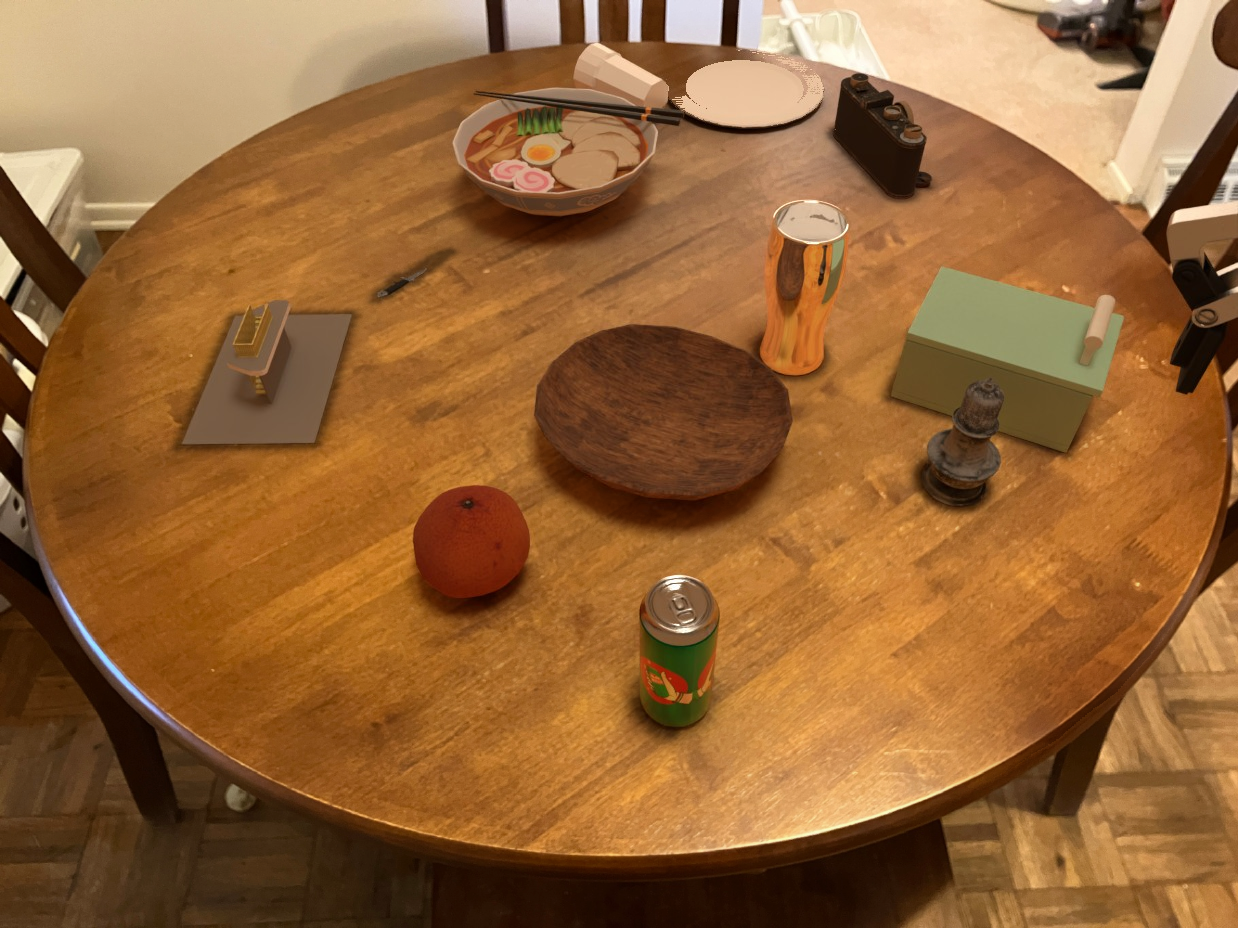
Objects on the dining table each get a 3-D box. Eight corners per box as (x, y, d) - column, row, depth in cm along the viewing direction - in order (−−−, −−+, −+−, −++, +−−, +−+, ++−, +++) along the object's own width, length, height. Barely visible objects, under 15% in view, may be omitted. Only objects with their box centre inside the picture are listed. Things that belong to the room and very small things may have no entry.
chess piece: (960, 520, 79) (1000, 417, 70) (903, 479, 82) (934, 375, 73) (1004, 485, 81) (1048, 380, 72) (947, 446, 84) (982, 341, 76)
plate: (850, 86, 129) (853, 74, 128) (773, 155, 118) (774, 142, 117) (717, 47, 137) (718, 35, 136) (633, 107, 126) (633, 95, 125)
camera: (941, 191, 111) (958, 126, 105) (889, 202, 110) (903, 137, 104) (873, 123, 122) (884, 60, 116) (825, 132, 121) (834, 69, 115)
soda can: (693, 657, 71) (700, 559, 62) (722, 716, 68) (734, 622, 59) (629, 680, 70) (626, 584, 61) (656, 741, 67) (658, 648, 58)
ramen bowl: (418, 231, 108) (405, 165, 102) (499, 131, 122) (491, 68, 116) (632, 271, 102) (631, 204, 96) (690, 161, 117) (692, 96, 111)
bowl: (727, 569, 76) (732, 530, 72) (495, 471, 84) (489, 431, 80) (819, 414, 88) (827, 373, 84) (608, 339, 95) (606, 299, 91)
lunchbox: (1088, 378, 90) (1115, 321, 85) (1066, 453, 84) (1093, 396, 79) (923, 329, 95) (939, 273, 90) (890, 396, 89) (905, 340, 84)
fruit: (504, 509, 81) (493, 443, 75) (550, 586, 75) (542, 521, 69) (403, 550, 78) (384, 485, 72) (444, 633, 73) (426, 570, 67)
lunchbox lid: (1121, 322, 85) (1138, 286, 82) (1099, 398, 78) (1117, 361, 75) (939, 272, 90) (949, 236, 87) (905, 339, 84) (915, 303, 81)
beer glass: (795, 390, 90) (816, 255, 78) (739, 353, 93) (753, 220, 82) (842, 355, 93) (870, 221, 82) (787, 321, 96) (806, 189, 85)
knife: (448, 252, 106) (447, 249, 105) (458, 259, 105) (457, 255, 104) (371, 294, 101) (370, 291, 101) (381, 301, 100) (380, 298, 100)
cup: (634, 100, 118) (568, 68, 122) (644, 137, 124) (581, 105, 128) (667, 62, 119) (600, 31, 123) (676, 101, 125) (612, 70, 129)
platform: (181, 444, 86) (153, 391, 82) (235, 315, 98) (214, 262, 94) (314, 442, 86) (295, 389, 81) (352, 314, 98) (337, 260, 93)
